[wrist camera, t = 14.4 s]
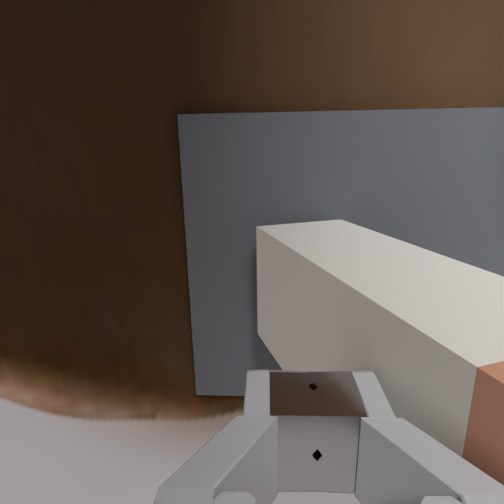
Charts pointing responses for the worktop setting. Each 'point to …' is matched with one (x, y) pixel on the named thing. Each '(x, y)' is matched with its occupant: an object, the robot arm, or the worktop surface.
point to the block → (390, 326)
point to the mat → (325, 203)
